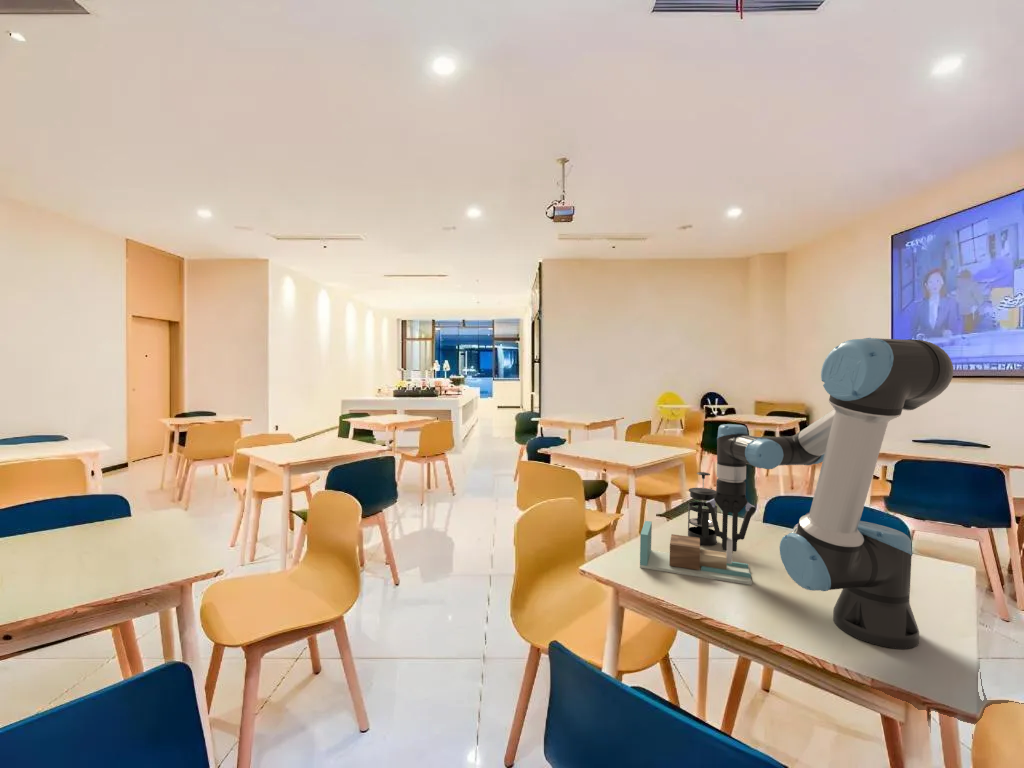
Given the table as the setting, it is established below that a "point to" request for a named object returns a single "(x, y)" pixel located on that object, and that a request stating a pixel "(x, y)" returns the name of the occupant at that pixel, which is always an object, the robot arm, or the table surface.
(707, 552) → the light wood bar
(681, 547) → the block
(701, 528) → the french press
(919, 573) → the table surface
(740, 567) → the railed board with endplate
